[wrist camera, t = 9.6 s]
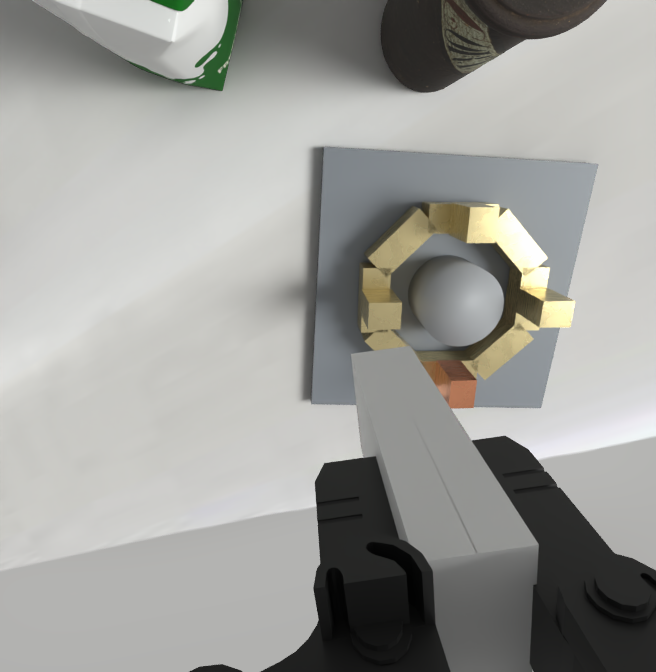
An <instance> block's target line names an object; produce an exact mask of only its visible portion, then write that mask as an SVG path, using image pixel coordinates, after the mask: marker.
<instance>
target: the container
mask: <svg viewBox="0 0 656 672" xmlns="http://www.w3.org/2000/svg"><path fill="white" fill-rule="evenodd" d="M606 1H607V0H388V2H387V4H386V7H385V10H384V13H383V18H382V24H381V42H382V49H383V53H384V57H385V59H386V62H387V64H388V66H389V68H390V70H391V71H392V73H393V74H394V75H395V76H396V78H397V79H398V80H399V81H400V82H401V83H403V84H404V85H405V86H407V87H409V88H410V89H413V90H415V91H419V92H435V91H438V90H441V89H444V88H445V87H447V86H449V85H451V84H452V83H454V82H456V81H457V80H459V79H461V78H462V77H464V76H466V75H467V74H469V73H471V72H472V71H474V70H476V69H477V68H479V67H481V66H482V65H484V64H485V63H487V62H489V61H491V60H493V59H494V58H496V57H497V56H499V55H501V54H502V53H504V52H505V51H507V50H509V49H510V48H512V47H514V46H515V45H517V44H519V43H520V42H522V41H524V40H526V39H542V38H547V37H552V36H555V35H558V34H561V33H564V32H566V31H568V30H570V29H572V28H574V27H576V26H577V25H579V24H580V23H582V22H583V21H585V20H586V19H588V18H589V17H590V16H591V15H592V14H593V13H595V12H596V11H597V10H598V9H599V8H600V7H601V6H602V5H603V4H604V3H605V2H606Z"/></svg>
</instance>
